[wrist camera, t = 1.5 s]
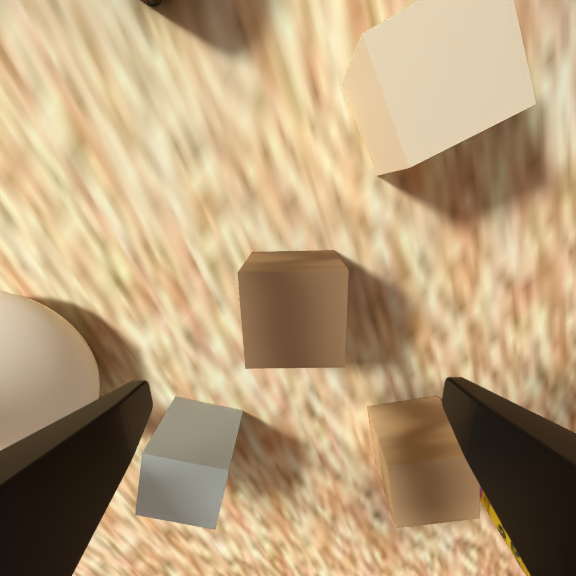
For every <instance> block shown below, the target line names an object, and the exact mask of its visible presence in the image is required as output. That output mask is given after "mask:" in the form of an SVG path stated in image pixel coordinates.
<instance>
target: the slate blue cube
mask: <svg viewBox="0 0 576 576" xmlns="http://www.w3.org/2000/svg"><path fill="white" fill-rule="evenodd" d="M242 413H243V410H238V409H233V408H228V407H223V406H219V405H214V404H209V403H204V402H200V401H195V400H190V399H185V398H181V397H176V396H175V398H174V400H173V402H172V403H171V405H170V407H169V408H168V410H167V412H166V414H165V415H164V417H163V419H162V420H161V422H160V424H159V426H158V427H157V429H156V431H155V432H154V434H153V436H152V438H151V439H150V441H149V443H148V444H147V446H146V448H145V450H144V451H143V453H142V460H141V469H140V478H139V487H138V496H137V505H136V514H135V515H139V516H144V517H150V518H155V519H161V520H166V521H171V522H177V523H182V524H188V525H193V526H199V527H204V528H210V529H216V525H217V520H218V516H219V512H220V507H221V503H222V499H223V495H224V490H225V486H226V482H227V477H228V473H229V469H230V465H231V460H232V456H233V452H234V447H235V443H236V439H237V434H238V430H239V426H240V422H241V417H242Z"/></svg>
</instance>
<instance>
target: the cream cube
mask: <svg viewBox="0 0 576 576" xmlns="http://www.w3.org/2000/svg"><path fill="white" fill-rule="evenodd" d="M341 84H342V87H343V90H344V92H345V95H346V97H347V100H348V103H349V105H350V108H351V110H352V113H353V116H354V118H355V121H356V123H357V126H358V129H359V131H360V134H361V136H362V139H363V142H364V144H365V147H366V150H367V152H368V155H369V157H370V160H371V163H372V165H373V168H374V170H375V173H376V176H377V175H382V174H386V173H390V172H394V171H399V170H403V169H407V168H410V167H412V166H414V165H416V164H418V163H420V162H422V161H424V160H426V159H428V158H430V157H432V156H434V155H436V154H438V153H440V152H442V151H444V150H446V149H448V148H450V147H452V146H454V145H456V144H458V143H460V142H462V141H464V140H466V139H468V138H470V137H472V136H474V135H476V134H478V133H480V132H482V131H484V130H486V129H488V128H490V127H492V126H494V125H496V124H498V123H500V122H502V121H504V120H506V119H507V118H509V117H511V116H513V115H515V114H517V113H519V112H521V111H523V110H525V109H527V108H529V107H531V106H533V105H535V104H536V100H535V96H534V91H533V87H532V82H531V77H530V73H529V68H528V64H527V59H526V55H525V50H524V45H523V41H522V36H521V32H520V27H519V23H518V18H517V14H516V9H515V4H514V0H418V1H416V2H415V3H413V4H411V5H410V6H408V7H406V8H405V9H403V10H401V11H399V12H398V13H396V14H394V15H393V16H391V17H389V18H388V19H386V20H384V21H383V22H381V23H379V24H378V25H376V26H374V27H372V28H371V29H369V30H367V31H366V32H364V33H362V35H361V38H360V40H359V42H358V45H357V47H356V49H355V52H354V54H353V57H352V59H351V61H350V64H349V66H348V68H347V71H346V73H345V75H344V78H343V80H342V83H341Z"/></svg>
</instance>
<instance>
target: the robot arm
mask: <svg viewBox="0 0 576 576" xmlns="http://www.w3.org/2000/svg"><path fill="white" fill-rule="evenodd" d="M442 406H443V409H444V412H445V414H446V416H447V419H448V421H449V423H450V425H451V428H452V430H453V432H454V435H455V437H456V439H457V441H458V444H459V446H460V448H461V451H462V453H463V455H464V457H465V459H466V461H467V463H468V465H469V467H470V468H471V470H472V472H473V474H474V476H475V477H476V479H477V481H478V483H479V485H480V486H481V488H482V490H483V492H484V494H485V495H486V497H487V499H488V501H489V502H490V504H491V506H492V508H493V510H494V511H495V513H496V515H497V517H498V519H499V520H500V522H501V524H502V526H503V528H504V529H505V531H506V533H507V535H508V536H509V538H510V540H511V542H512V544H513V545H514V547H515V549H516V551H517V553H518V554H519V556H520V558H521V560H522V562H523V563H524V565H525V567H526V569H527V570H528V572H529V574H530V576H576V433H574V432H572V431H570V430H568V429H566V428H564V427H562V426H560V425H558V424H556V423H553V422H551V421H549V420H547V419H545V418H543V417H541V416H539V415H537V414H535V413H533V412H531V411H529V410H527V409H525V408H523V407H521V406H519V405H517V404H515V403H513V402H511V401H509V400H507V399H505V398H503V397H501V396H499V395H497V394H495V393H493V392H491V391H489V390H487V389H485V388H483V387H481V386H479V385H477V384H475V383H473V382H471V381H468V380H466V379H464V378H462V377H448V378H447V379H446V380H445V384H444V391H443V397H442ZM152 408H153V401H152V396H151V391H150V386H149V383H148V382H147V381H146V380H134V381H131V382H129V383H127V384H125V385H124V386H122V387H120V388H118V389H116V390H114V391H112V392H110V393H108V394H106V395H105V396H103V397H101V398H99V399H97V400H95V401H93V402H91V403H89V404H88V405H86V406H84V407H82V408H80V409H78V410H76V411H74V412H72V413H70V414H69V415H67V416H65V417H63V418H61V419H59V420H57V421H55V422H53V423H52V424H50V425H48V426H46V427H44V428H42V429H40V430H38V431H36V432H34V433H33V434H31V435H29V436H27V437H25V438H23V439H21V440H19V441H17V442H16V443H14V444H12V445H10V446H8V447H6V448H4V449H2V450H0V576H72V574H73V573H74V571H75V569H76V567H77V565H78V563H79V561H80V559H81V557H82V555H83V553H84V551H85V549H86V548H87V546H88V544H89V542H90V540H91V538H92V536H93V534H94V532H95V530H96V528H97V526H98V524H99V522H100V521H101V519H102V517H103V515H104V513H105V511H106V509H107V507H108V505H109V503H110V501H111V499H112V497H113V496H114V494H115V492H116V490H117V488H118V486H119V484H120V482H121V480H122V478H123V476H124V474H125V472H126V471H127V469H128V467H129V465H130V463H131V460H132V458H133V456H134V454H135V451H136V449H137V446H138V444H139V441H140V439H141V436H142V434H143V432H144V429H145V427H146V424H147V422H148V419H149V417H150V414H151V411H152Z"/></svg>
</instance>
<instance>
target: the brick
mask: <svg viewBox="0 0 576 576" xmlns="http://www.w3.org/2000/svg"><path fill="white" fill-rule="evenodd" d="M142 1H143V2H144V3H146V4H147V5H149V6H157V5H159V4H160V2H161V0H142Z"/></svg>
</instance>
